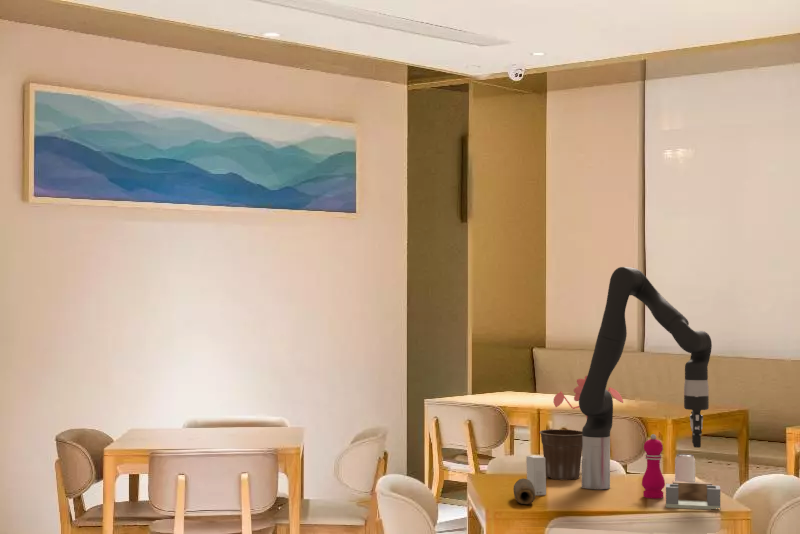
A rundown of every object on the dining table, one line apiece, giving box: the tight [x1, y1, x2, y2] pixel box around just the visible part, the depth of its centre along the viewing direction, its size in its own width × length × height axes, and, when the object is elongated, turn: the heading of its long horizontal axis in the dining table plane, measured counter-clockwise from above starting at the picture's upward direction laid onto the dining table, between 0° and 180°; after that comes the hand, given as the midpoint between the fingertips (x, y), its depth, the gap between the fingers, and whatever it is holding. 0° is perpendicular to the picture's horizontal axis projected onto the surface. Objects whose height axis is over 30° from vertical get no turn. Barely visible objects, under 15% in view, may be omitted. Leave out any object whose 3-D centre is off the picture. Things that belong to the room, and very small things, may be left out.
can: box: [674, 453, 696, 482], centre depth 386 cm, size 6×6×12 cm
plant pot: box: [539, 429, 583, 481], centre depth 415 cm, size 16×16×16 cm
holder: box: [665, 483, 721, 510], centre depth 359 cm, size 16×9×6 cm, turn 77°
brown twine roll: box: [512, 478, 536, 505], centre depth 364 cm, size 15×7×7 cm, turn 0°
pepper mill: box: [641, 433, 666, 500], centre depth 375 cm, size 7×7×20 cm
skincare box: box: [525, 454, 547, 496], centre depth 379 cm, size 6×4×12 cm
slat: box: [672, 480, 713, 501], centre depth 367 cm, size 12×3×6 cm, turn 77°
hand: (696, 445), depth 369 cm, fingers open, 8 cm apart
